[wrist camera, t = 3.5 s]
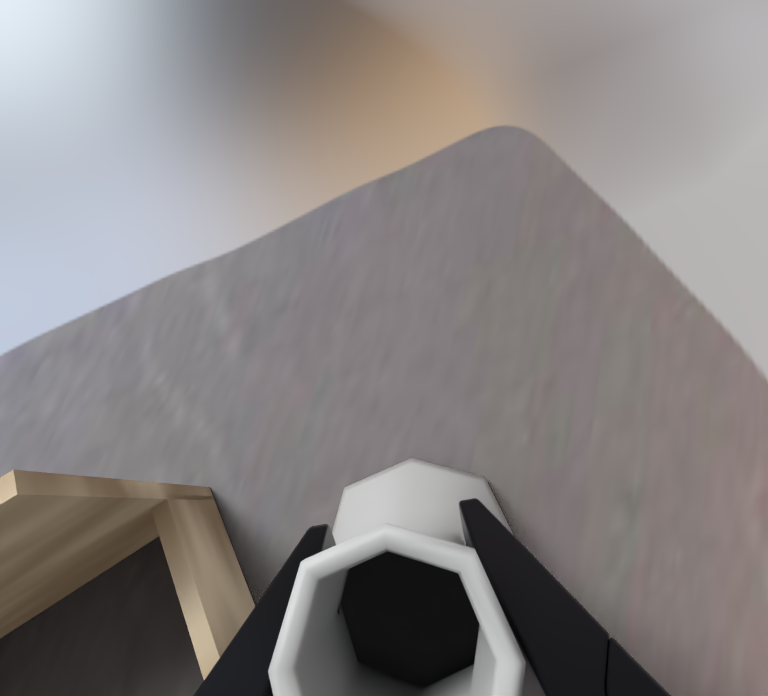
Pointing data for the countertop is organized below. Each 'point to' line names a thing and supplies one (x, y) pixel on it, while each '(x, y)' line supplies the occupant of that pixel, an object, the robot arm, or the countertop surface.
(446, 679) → the flask
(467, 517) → the robot arm
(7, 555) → the dock
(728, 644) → the countertop surface
